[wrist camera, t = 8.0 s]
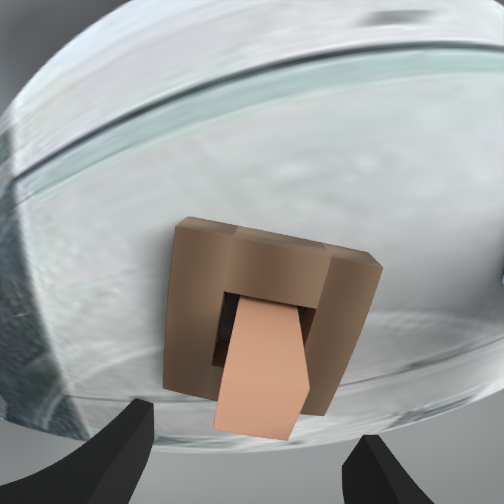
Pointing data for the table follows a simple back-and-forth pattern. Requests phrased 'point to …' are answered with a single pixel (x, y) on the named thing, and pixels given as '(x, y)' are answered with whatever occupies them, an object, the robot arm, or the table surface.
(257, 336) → the peg
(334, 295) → the socket
